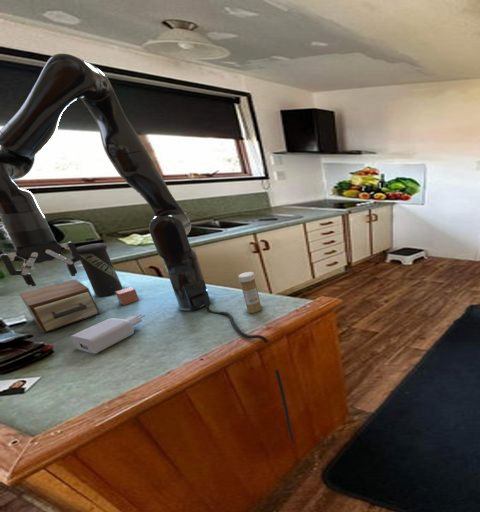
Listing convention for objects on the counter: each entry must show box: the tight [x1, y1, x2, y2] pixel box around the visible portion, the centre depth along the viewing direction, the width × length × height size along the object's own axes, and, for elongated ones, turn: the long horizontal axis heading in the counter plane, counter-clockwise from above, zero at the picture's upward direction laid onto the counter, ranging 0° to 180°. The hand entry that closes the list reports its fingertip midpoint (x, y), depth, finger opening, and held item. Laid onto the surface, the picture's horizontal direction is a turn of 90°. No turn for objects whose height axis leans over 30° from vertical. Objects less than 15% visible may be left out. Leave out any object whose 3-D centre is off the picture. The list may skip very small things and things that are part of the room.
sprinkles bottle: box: [238, 271, 262, 314], centre depth 90 cm, size 5×5×14 cm
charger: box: [69, 313, 146, 355], centre depth 80 cm, size 5×9×15 cm
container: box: [76, 242, 124, 297], centre depth 106 cm, size 9×9×20 cm
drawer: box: [34, 292, 98, 332], centre depth 89 cm, size 19×12×8 cm, turn 59°
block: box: [114, 286, 140, 306], centre depth 101 cm, size 4×4×4 cm
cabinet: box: [19, 279, 101, 334], centre depth 91 cm, size 16×13×10 cm
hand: (54, 280), depth 82 cm, fingers open, 7 cm apart
